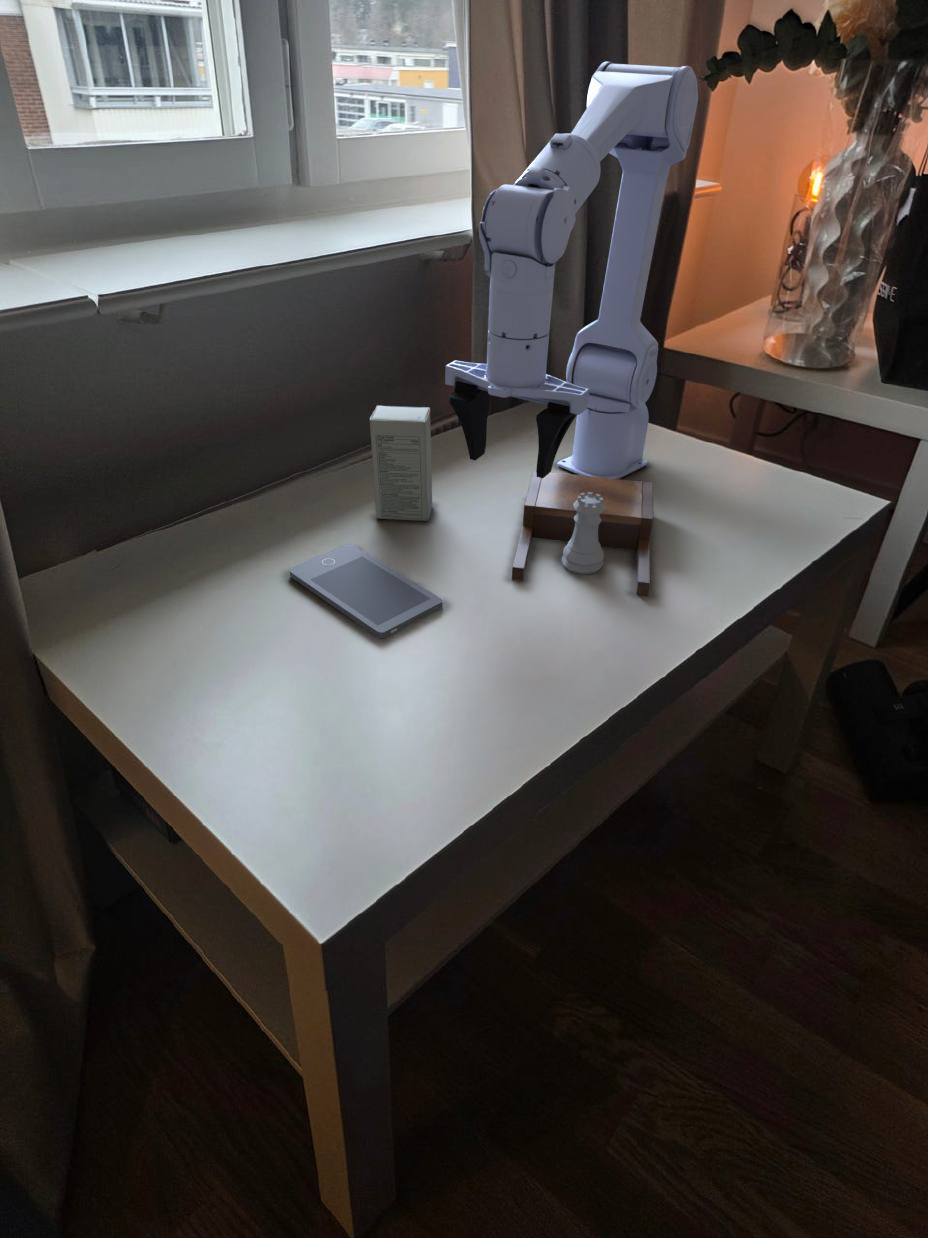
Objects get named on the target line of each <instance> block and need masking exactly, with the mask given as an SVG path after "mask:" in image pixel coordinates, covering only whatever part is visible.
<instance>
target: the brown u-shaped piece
mask: <svg viewBox="0 0 928 1238" xmlns="http://www.w3.org/2000/svg"><path fill="white" fill-rule="evenodd" d="M530 477H531V478H530V481H529V484H528V489H527V493H526V496H525V501H524V505H523V517H522V526H521V531H520V535H519V538H518V543H517V547H516V551H515V555H514V559H513V564H512V568H511V580H516V581H524V577H525V573H526V568H527V564H528V559H529V555H530V550H531V545H532V543H533V539H539V540H547V541H548V540H549V541H558V542H566V543H568V542H569V541H570V539H571V538H572V535H573V532H574V528H575V522H576V521H575V520H574V517H575V516H576V515H577V511H576V510H575V508H574V507H573V504H574V503H575V502H576V501H577V500H578V496H580V494H581V493H585V496H587V495H588V492H593V494H592V497H595V495H596V494H599V495H601V496H600V498H603V501H602V502H603V504H604V505H605V510H604V511H603V512H602V513H601V514H600V516H599V517H600V518H601V522H600V524H599V527H598V541H599V543H600V546H601V547H611V548H619V549H621V548H622V549H626V550H627V549H629V550H636V566H635V567H636V568H635V569H636V571H635V573H636V577H635V594H636V595H641V596H642V595H643V596H648V595H649V592H650V586H651V542H650V540H651V535H652V529H653V524H654V483H653V482H649V481H640V480H631V479H621V478H619V479H611V478H601V477H591V476H581V475H578V474H570V473H561V472H552V471H551V472H550V473H549V474H548V475H547V476H546V477H544V478H539V477H537V472H536V470H532V474H531V476H530Z"/></svg>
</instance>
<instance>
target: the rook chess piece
mask: <svg viewBox="0 0 928 1238" xmlns="http://www.w3.org/2000/svg"><path fill="white" fill-rule="evenodd" d="M592 494H593V492H588V495H587V496H585V493H581V494H580V496H578V500H577V501H576V502H575V503H574V504H573V507H574V508H575V510H576V511H577V515H576V516H575V517H574V520H575V521H576V522H575V528H574V532H573V535H572V538H571V539H570V541H569V542H567V544H566V545H565V546H564V547H563V549H562V556H561V563H562V564H563V565H564V567H565V569H566V570H568V571H570V572H571V573H574V574H578V575H592V574H594V573H596V572H598V571H599V570H600V569H601V568H602V567H603V565H604V560H603V559H604V550H603V549H602V546H601V545H600V543H599V541H598V527H599V524H600V522H601V518H600V517H599V516H600V514H601V513H602V512H603V511H604V510H605V505H604V504H603V502H602V501H603V498H600V496H601V495H599V494H596V495H595V497H592Z"/></svg>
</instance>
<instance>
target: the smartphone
mask: <svg viewBox="0 0 928 1238" xmlns="http://www.w3.org/2000/svg"><path fill="white" fill-rule="evenodd" d="M289 577H290V579H293V580H294V581H295V582H297V583H298V584H300V585H301V586H303V587H304V588H306V589H307V590H308V591H310V592H311V593H313V594H315V595H316V596H317V597H318V598H320V599H321V600H323V601H324V602H325V603H327V604H329V605H330V606H332V607H333V608H334V609H336V610H337V611H339V612H340V613H342V614H343V615H345V616H346V617H347V618H348V619H351V620H352V621H353V622H355V623H356V624H357V625H359V626H360V627H361V628H363V629H364V630H366V631H367V632H369V633H371V634H372V635H373V636H374V637H376V638H379V639H385V638H387V637H389V636H391V635H393V634H395V633H396V632H398V631H400V630H402V629H404V628H406V627H408V626H410V625H412V624H413V623H416V622H418V621H419V620H421V619H423V618H425V617H427V616H429V615H431V614H433V613H434V612H437V611H438V610H440V609H442V608H443V599H442V598H441V597H440V596H438V595H436V594H435V593H433V592H431V591H430V590H428V589H427V588H425V587H424V586H422V585H420V584H419V583H416V581H414V580H413V579H410V578H409V577H407V576H405V575H403V574H402V573H400V572H399V571H397V570H396V569H394V568H392V567H390V566H389V565H387V564H386V563H384V562H382V561H381V560H379V559H378V558H376V557H374V556H372V555H371V554H369V553H368V552H365V551H364V550H362V549H361V548H359V547H357V546H356V545H354V544H352V543H347V544H344V545H342V546H339V547H337V548H335V549H332V550H330V551H328V552H326V553H323V554H321V555H318V556H316V557H313V558H312V559H309V560H307V561H304V562H301V563H299V564H297V565H295V566H292V567H290V568H289Z"/></svg>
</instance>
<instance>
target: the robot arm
mask: <svg viewBox="0 0 928 1238" xmlns="http://www.w3.org/2000/svg"><path fill="white" fill-rule="evenodd" d="M698 91H699V90H698V79H697V76H696V74H695V72H694V69H693V67H691V66H690V65H682V66H680V67H679V66H663V65H661V66H660V65H644V64H643V65H642V64H627V63H626V64H625V63H614V62H613V61H604V62H602V63H601V64H600V65H599V66H598V67H597V69H596V70H595V72H594V73H593V75H592V76H591V80H590V83H589V86H588V90H587V98H586V109H585V110H584V112H583V114H582V115H581V117H580V118H579V120H578V122H577V123H576V125H575V126H574V128H573V129H572V130H571V132H569V133H568V132H567V133H566V132H565V133H555V134H554V135H553V136H552V137H551V139H550V140H549V141H548V143H547V144H545V146H544V147H543V149H542V150H541V151H540V152H539V154H537V156H536V157H535V158H534V159H533V161H531V163H530V164H529V165H528V167H527V168H526V169H525V170H524V171H523V173H522V174H521V175H520V176H519V178H517V180H516V181H515V182H514V184H506V183H504V184H502V185H500V186H499V187H498V188H497V189H494V190H492V191H491V192H490V193H489V195H488V196H487V197H486V200H485V202H484V203H483V204H484V205H483V208H482V212H481V218H480V222H479V224H478V236H479V242H480V245H481V248H482V250H483V254H484V268H483V269H484V271H485V275H486V276H487V277H489V279H490V280H489V294H488V295H489V296H488V297H489V299H488V302H489V303H488V320H487V347H486V363H477V362H468V361H461V360H453V361H452V362H450V363H448V364H446V365H445V370H444V371H445V372H444V373H445V375H444V377H445V378H444V383H445V385H446V386H451V387H454V388H453V391H452V392H451V393H449V394H448V402H449V404H450V406H451V408H452V409H453V411H454V413H455V415H456V417H457V419H458V422H459V424H460V426H461V429H462V433H463V435H464V439H465V443H466V446H467V451H468V457H469V460H470V461H477V460H478V459H480V458H481V457H483V456H484V455H485V453H486V447H487V435H488V434H487V433H488V430H487V428H488V427H487V426H488V418H489V411H490V404H491V399H492V396H494V397H497V398H509V397H511V398H516V399H519V400H524V401H529V402H532V403H533V402H534V403H537V404H542V405H547V407H546V408H543V410H541V411H540V412H539V413H537V414H536V418H535V421H536V427H537V438H538V439H537V440H538V441H537V442H538V449H537V450H538V451H537V461H536V468H535V469H536V470H535V471H536V472H537V477H539V478H544V477H546V476H547V475H548V474H549V473H550V472H552V469H553V465H554V462H555V459H556V456H557V454H558V451H559V449H560V446H561V444H562V442H563V440H564V438H565V436H566V434H567V432H568V430H569V429H570V427H571V425H572V424H573V422H574V420H575V429H574V436H573V437H574V438H573V446H572V454H571V455H570V456H568V457H566V458H564V459H561V460H559V461H557V466H558V467H560V468H561V469H564V470H567V471H569V472H572V473H574V474H575V475H581V476H591V477H601V478H611V479H621V478H623V477H626V476H627V475H629V474H631V473H634V472H635V471H637V470H639V469H641V468H642V469H643V468H644V467H645V466H647V465H648V460H647V459H644V458H643V456H644V451H645V445H646V439H647V432H648V426H649V420H650V415H649V410H648V407H647V405H646V403H647V401H648V400H649V399H650V397H651V395H652V392H653V390H654V388H655V384H656V380H657V374H658V364H657V363H658V354H659V343H658V341H657V339H656V338H655V337H654V335H652V334H651V333H650V331H649V330H648V329H647V328H646V326H644V325H643V323H642V322H641V318H642V312H643V307H644V301H645V296H646V291H647V285H648V280H649V275H650V270H651V265H652V259H653V254H654V250H655V249H654V248H655V244H656V238H657V234H658V233H657V232H658V227H659V223H660V217H661V211H662V206H663V201H664V195H665V191H666V185H667V181H668V178H669V173H670V170H671V166H673V165H674V164H677V163H679V162H681V161H684V160H685V159H686V157H687V151H688V149H689V147H690V144H691V139H692V133H693V129H694V124H695V118H696V112H697V108H698V102H699V92H698ZM608 154H609V155H612V156H613V157H614V158H616V159H617V160H618V162H619V164H620V167H621V170H622V174H621V180H620V185H619V186H620V187H619V191H618V198H617V204H616V209H615V217H614V222H613V227H612V235H611V241H610V247H609V253H608V258H607V264H606V270H605V276H604V283H603V288H602V289H603V290H602V294H601V295H602V296H601V300H600V305H599V306H600V307H599V313H598V317H597V319H596V320H594V321H592V322H590V323H589V324H587V325H585V326H584V327H582V329H580V330H579V331H578V332H577V333H576V336H575V338H574V343H573V347H572V350H571V353H570V355H569V357H568V360H567V361H568V362H567V365H566V370H565V379H566V380H563V379H560V378H557V377H555V376H553V375H550V374H547V367H548V365H547V364H548V353H549V342H550V341H549V340H550V332H551V331H550V330H551V319H552V318H551V317H552V308H553V296H554V295H553V293H554V283H555V271H556V263H557V262H558V261H559V259H560V258H562V257H563V255H564V254H565V252H566V249H567V246H568V243H569V240H570V235H571V232H572V230H573V229H574V227H575V223H576V221H577V219H576V214H577V212H578V211H579V210H580V208H581V207H582V206H583V205H584V203H585V202H586V200H587V199H588V198H589V196H590V195H591V194H592V193H593V191H594V190H595V188H596V187H597V186H598V184H599V181H600V179H601V171H602V170H601V169H602V167H601V162H602V160H603V159H604V158H605V157H607V155H608Z"/></svg>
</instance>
